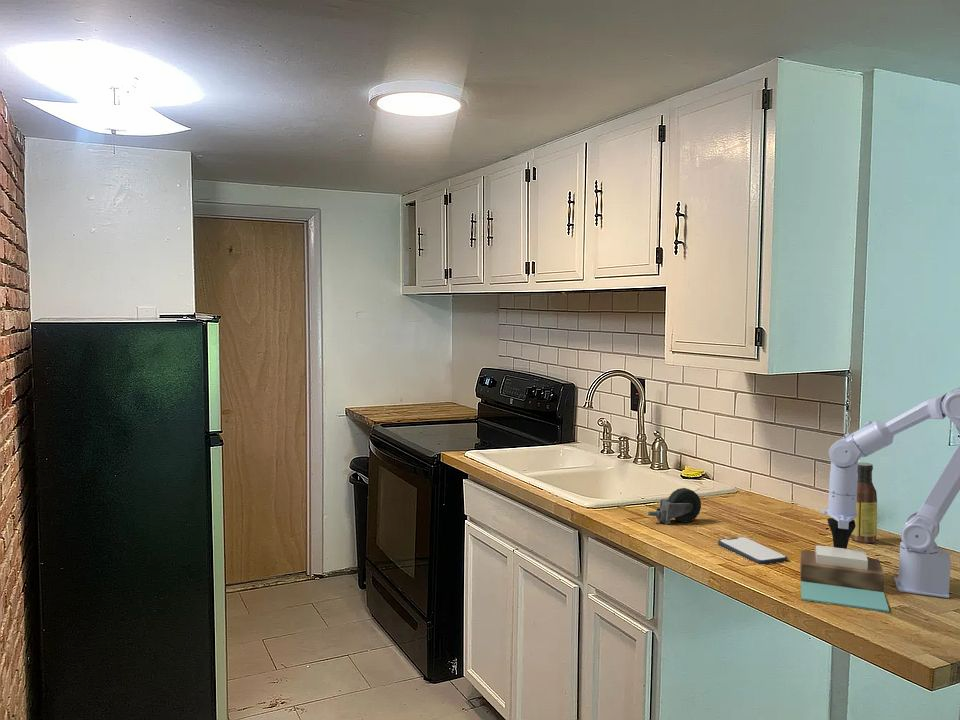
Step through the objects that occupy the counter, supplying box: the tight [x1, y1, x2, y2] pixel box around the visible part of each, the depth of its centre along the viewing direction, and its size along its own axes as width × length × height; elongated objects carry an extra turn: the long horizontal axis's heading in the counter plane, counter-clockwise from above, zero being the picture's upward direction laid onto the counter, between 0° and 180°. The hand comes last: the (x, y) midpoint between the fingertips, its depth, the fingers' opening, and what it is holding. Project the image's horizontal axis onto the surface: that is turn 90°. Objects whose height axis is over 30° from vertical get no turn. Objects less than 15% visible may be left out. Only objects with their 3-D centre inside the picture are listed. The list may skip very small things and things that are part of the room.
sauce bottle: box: [850, 462, 878, 544], centre depth 200 cm, size 7×6×20 cm
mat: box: [800, 580, 890, 613], centre depth 162 cm, size 16×10×1 cm, turn 68°
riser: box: [799, 549, 885, 592], centre depth 172 cm, size 16×10×4 cm, turn 69°
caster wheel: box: [647, 487, 702, 525], centre depth 215 cm, size 6×10×15 cm
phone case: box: [717, 536, 788, 565], centre depth 190 cm, size 9×2×16 cm
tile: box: [815, 545, 868, 570], centre depth 172 cm, size 10×7×2 cm
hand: (839, 551), depth 176 cm, fingers closed
